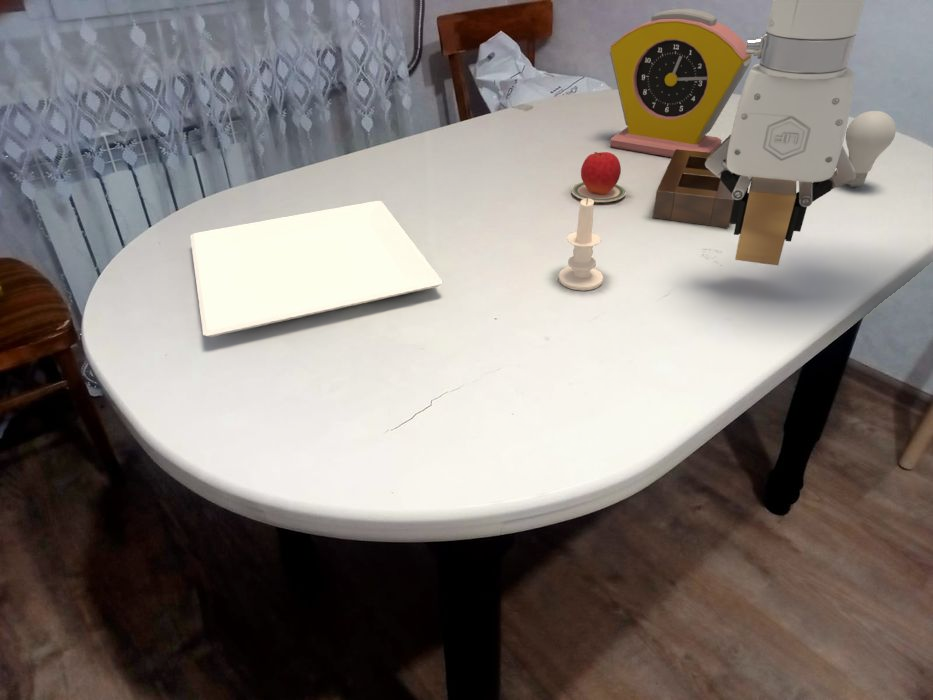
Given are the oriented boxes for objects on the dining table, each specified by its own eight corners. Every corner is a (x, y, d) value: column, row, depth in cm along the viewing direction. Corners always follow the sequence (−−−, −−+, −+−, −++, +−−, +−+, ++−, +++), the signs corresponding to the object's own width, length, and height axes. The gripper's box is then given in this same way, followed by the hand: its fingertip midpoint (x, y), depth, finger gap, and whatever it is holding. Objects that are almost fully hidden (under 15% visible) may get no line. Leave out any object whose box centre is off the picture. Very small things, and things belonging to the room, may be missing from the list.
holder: (738, 181, 101) (743, 155, 99) (728, 228, 88) (734, 200, 86) (671, 173, 104) (675, 149, 102) (652, 217, 91) (656, 190, 89)
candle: (593, 294, 75) (602, 209, 69) (551, 284, 77) (556, 201, 71) (609, 274, 79) (618, 192, 73) (568, 265, 81) (574, 184, 75)
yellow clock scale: (594, 145, 116) (606, 9, 104) (615, 130, 123) (629, 1, 110) (720, 167, 106) (750, 19, 94) (736, 150, 112) (766, 10, 100)
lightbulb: (855, 197, 95) (881, 120, 89) (821, 183, 100) (843, 109, 93) (885, 190, 97) (912, 113, 91) (850, 176, 102) (874, 103, 95)
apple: (563, 199, 97) (566, 156, 93) (581, 180, 103) (585, 139, 99) (616, 208, 94) (621, 164, 90) (632, 189, 100) (637, 146, 96)
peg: (779, 248, 74) (796, 180, 70) (778, 265, 71) (796, 195, 66) (737, 242, 76) (752, 175, 71) (734, 260, 72) (749, 191, 68)
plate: (193, 246, 88) (189, 232, 86) (382, 212, 95) (380, 198, 94) (208, 351, 68) (202, 334, 67) (444, 297, 75) (444, 281, 74)
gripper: (705, 59, 61) (677, 237, 72) (914, 67, 56) (850, 259, 66) (714, 42, 67) (687, 210, 77) (904, 48, 61) (846, 228, 72)
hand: (762, 231), depth 72 cm, fingers closed on peg, 4 cm apart
